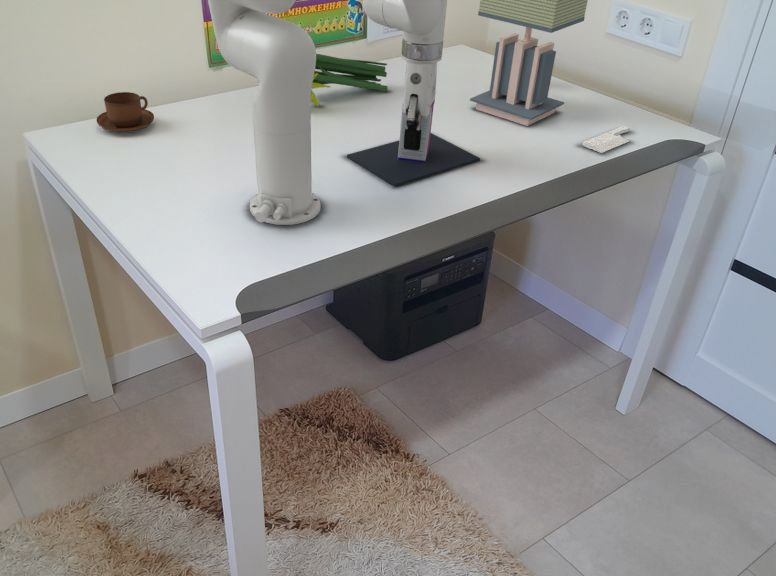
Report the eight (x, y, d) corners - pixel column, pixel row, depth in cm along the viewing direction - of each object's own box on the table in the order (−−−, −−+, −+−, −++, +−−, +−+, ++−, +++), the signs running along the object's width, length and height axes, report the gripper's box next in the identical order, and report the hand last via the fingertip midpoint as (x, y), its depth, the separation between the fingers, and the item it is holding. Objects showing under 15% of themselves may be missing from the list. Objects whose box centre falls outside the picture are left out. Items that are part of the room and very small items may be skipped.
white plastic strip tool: (641, 136, 159) (643, 131, 158) (601, 153, 152) (602, 148, 151) (622, 129, 162) (623, 124, 161) (581, 145, 155) (582, 140, 154)
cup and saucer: (119, 113, 163) (114, 85, 159) (165, 120, 160) (161, 92, 156) (86, 132, 154) (80, 103, 150) (135, 140, 151) (130, 111, 147)
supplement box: (426, 163, 144) (431, 106, 137) (396, 160, 145) (400, 103, 138) (429, 152, 149) (435, 96, 142) (401, 149, 150) (405, 93, 142)
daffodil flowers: (403, 105, 173) (276, 89, 153) (367, 120, 185) (244, 107, 165) (399, 33, 172) (270, 7, 152) (362, 53, 184) (238, 31, 164)
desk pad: (395, 187, 137) (395, 184, 137) (346, 157, 147) (346, 154, 147) (479, 160, 147) (480, 158, 147) (429, 134, 157) (429, 132, 157)
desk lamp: (466, 108, 171) (484, -48, 150) (499, 93, 179) (521, -56, 158) (532, 129, 161) (562, -34, 141) (565, 113, 169) (597, -43, 149)
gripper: (434, 65, 127) (425, 162, 138) (449, 38, 140) (439, 129, 151) (392, 61, 128) (387, 157, 139) (410, 35, 141) (404, 125, 152)
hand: (414, 141), depth 145 cm, fingers closed on supplement box, 5 cm apart
